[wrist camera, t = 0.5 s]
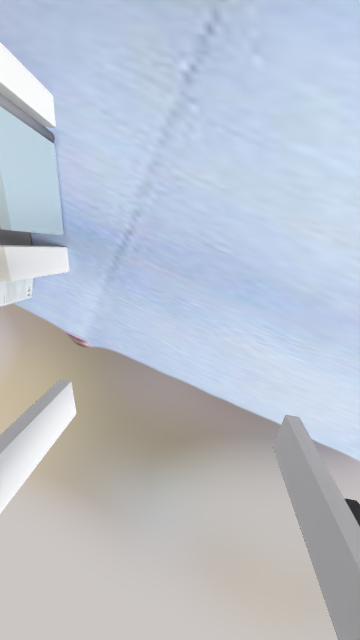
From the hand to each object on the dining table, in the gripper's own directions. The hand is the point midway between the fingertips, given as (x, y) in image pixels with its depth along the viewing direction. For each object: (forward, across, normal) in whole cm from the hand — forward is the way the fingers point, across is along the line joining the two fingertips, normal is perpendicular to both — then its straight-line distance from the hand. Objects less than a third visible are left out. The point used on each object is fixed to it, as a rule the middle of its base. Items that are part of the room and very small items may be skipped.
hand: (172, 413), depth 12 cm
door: (+26, -26, +17) cm, 40 cm away
